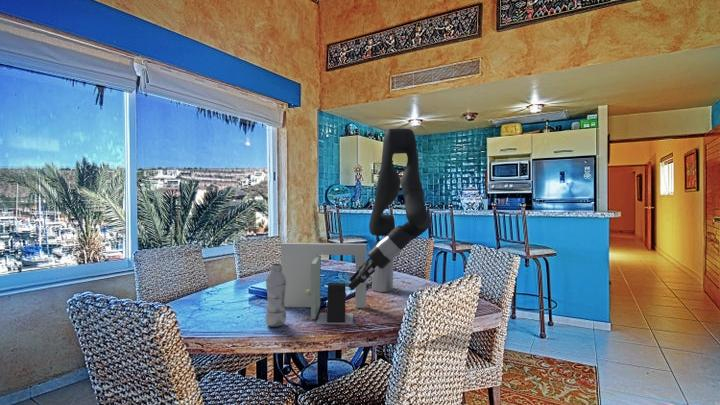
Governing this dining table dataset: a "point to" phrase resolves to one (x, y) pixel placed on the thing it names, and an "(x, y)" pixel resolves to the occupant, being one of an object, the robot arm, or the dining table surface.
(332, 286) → the black rectangular block
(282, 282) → the plastic bottle
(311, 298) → the door frame
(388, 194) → the robot arm
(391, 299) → the dining table surface
